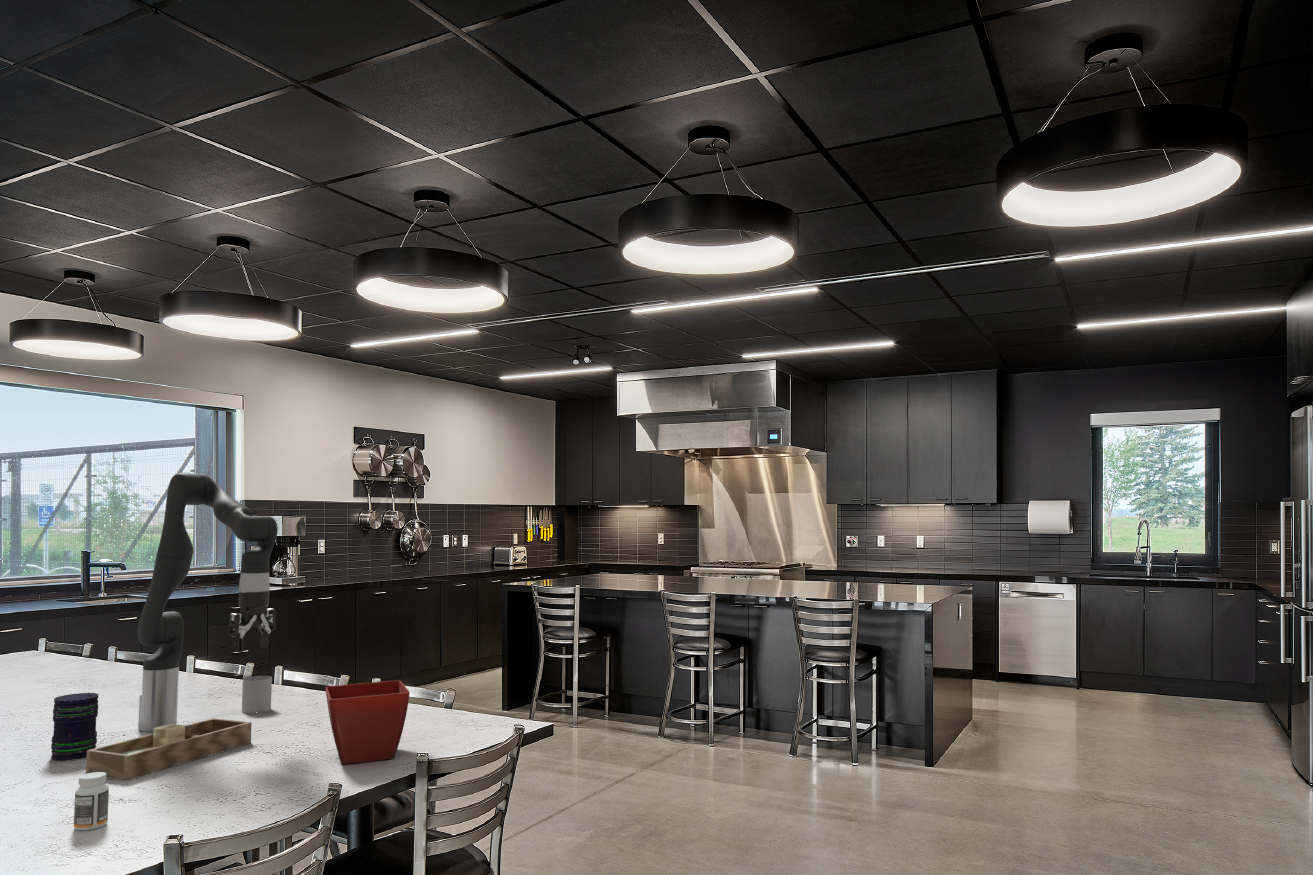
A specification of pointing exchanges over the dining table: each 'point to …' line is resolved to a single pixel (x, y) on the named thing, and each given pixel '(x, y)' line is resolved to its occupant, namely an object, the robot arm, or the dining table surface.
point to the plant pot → (367, 719)
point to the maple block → (168, 734)
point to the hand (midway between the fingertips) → (251, 649)
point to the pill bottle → (91, 802)
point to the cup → (256, 694)
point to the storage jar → (74, 726)
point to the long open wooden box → (167, 749)
